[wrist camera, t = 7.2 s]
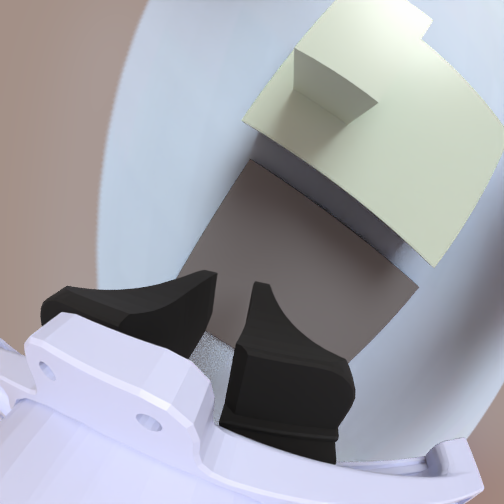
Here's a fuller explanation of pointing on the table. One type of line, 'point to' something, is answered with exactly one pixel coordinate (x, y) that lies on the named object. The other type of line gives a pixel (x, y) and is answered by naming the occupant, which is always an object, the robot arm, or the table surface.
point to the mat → (295, 266)
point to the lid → (385, 120)
